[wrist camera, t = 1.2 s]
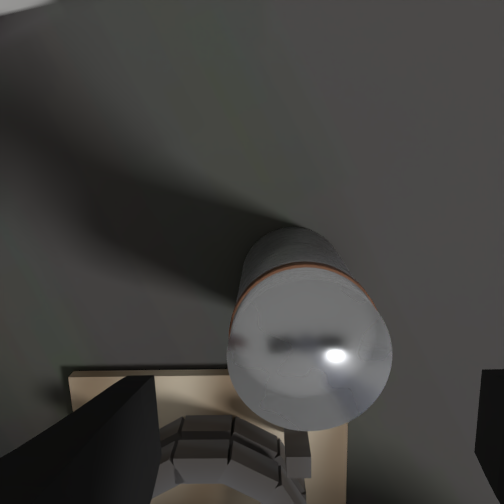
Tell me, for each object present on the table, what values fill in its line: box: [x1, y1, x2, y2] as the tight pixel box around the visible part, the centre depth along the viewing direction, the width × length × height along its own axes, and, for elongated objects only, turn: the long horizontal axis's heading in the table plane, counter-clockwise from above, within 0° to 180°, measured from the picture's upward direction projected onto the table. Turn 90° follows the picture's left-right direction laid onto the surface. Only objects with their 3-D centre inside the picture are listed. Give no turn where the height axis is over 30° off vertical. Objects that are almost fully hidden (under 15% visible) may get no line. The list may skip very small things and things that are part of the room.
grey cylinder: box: [227, 227, 392, 431], centre depth 16 cm, size 5×5×8 cm
